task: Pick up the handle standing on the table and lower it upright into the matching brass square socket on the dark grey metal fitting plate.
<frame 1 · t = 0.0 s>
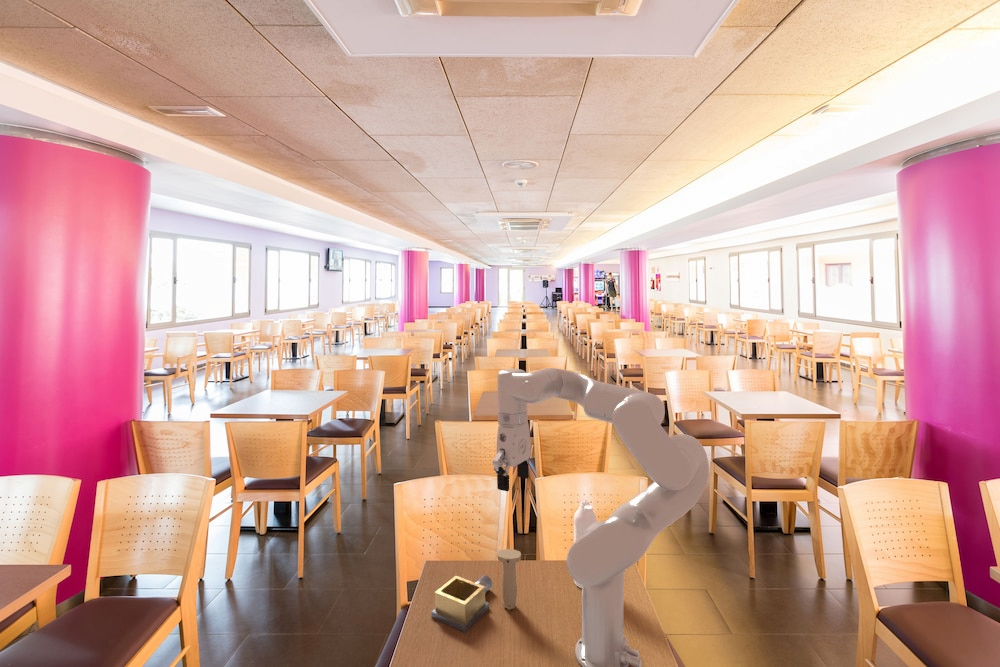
hand: (513, 483, 121), 37 cm above the table, tool pointing down, fingers open, 9 cm apart
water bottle: (586, 586, 139), on the table
socket: (460, 612, 127), on the table
handle: (509, 607, 129), on the table
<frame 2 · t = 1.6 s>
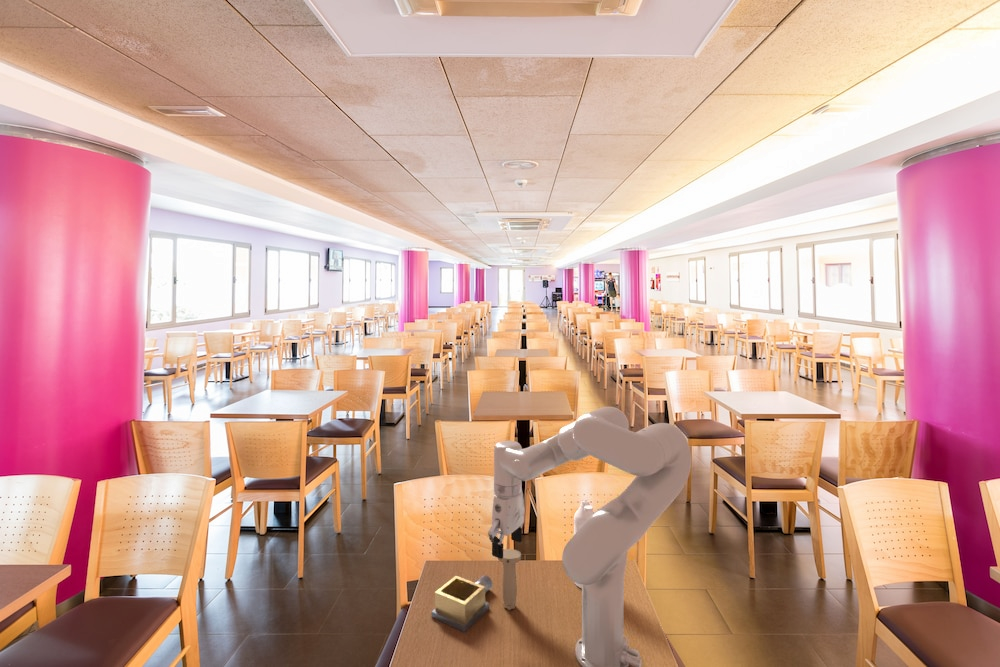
hand: (507, 548, 129), 16 cm above the table, tool pointing down, fingers open, 9 cm apart
nothing on the table moved.
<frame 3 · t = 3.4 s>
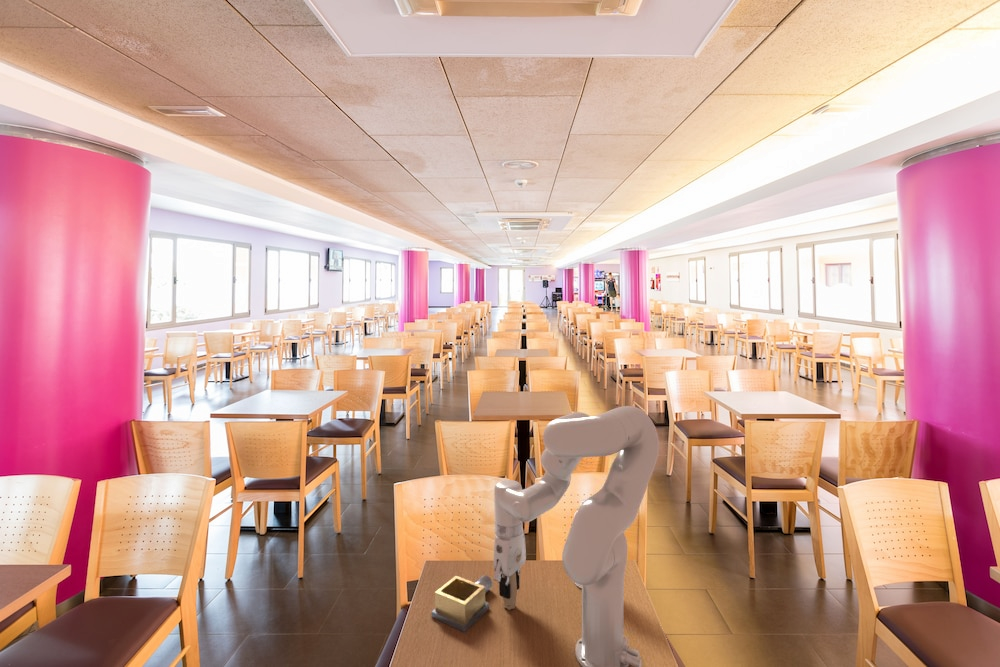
hand: (509, 591, 129), 4 cm above the table, tool pointing down, fingers closed on handle, 4 cm apart
handle: (509, 607, 129), on the table, touching gripper
everything else where it was.
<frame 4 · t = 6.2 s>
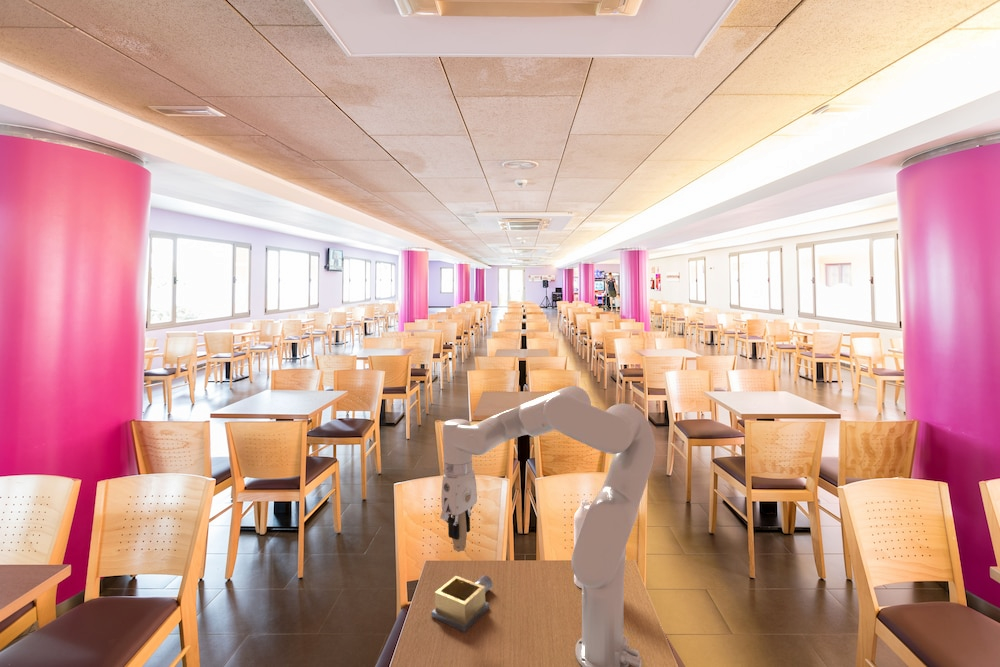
hand: (459, 533, 126), 22 cm above the table, tool pointing down, fingers closed on handle, 4 cm apart
handle: (459, 549, 126), point 17 cm above the table, touching gripper
everything else where it was.
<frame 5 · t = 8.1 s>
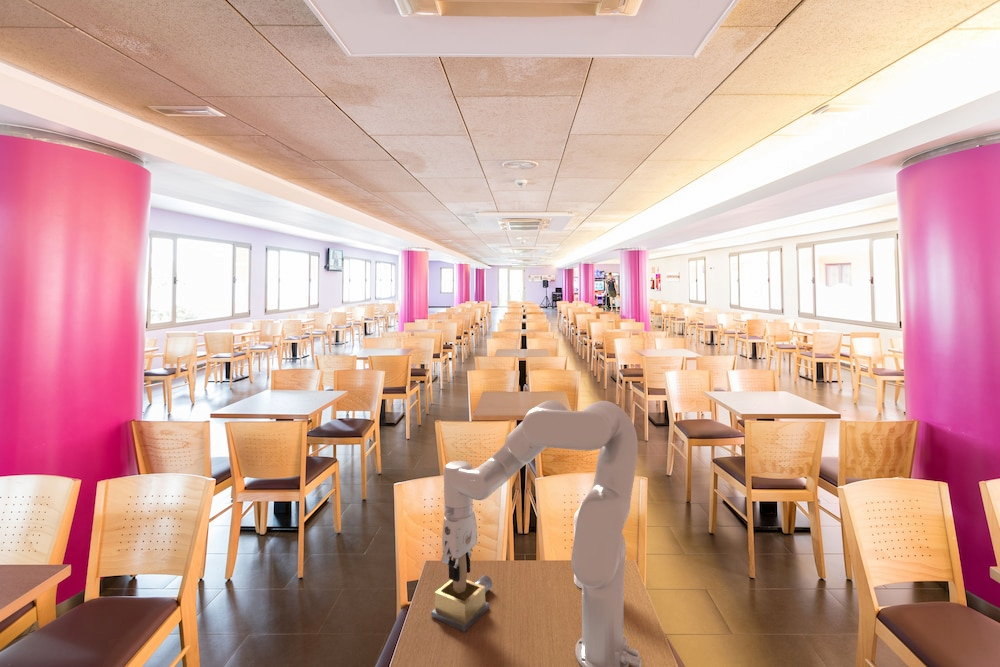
hand: (459, 574, 127), 11 cm above the table, tool pointing down, fingers closed on handle, 4 cm apart
handle: (459, 590, 127), point 6 cm above the table, touching gripper
everything else where it was.
when the fingers open (8 cm above the table, at t = 9.0 s): handle drops 2 cm, resting on socket.
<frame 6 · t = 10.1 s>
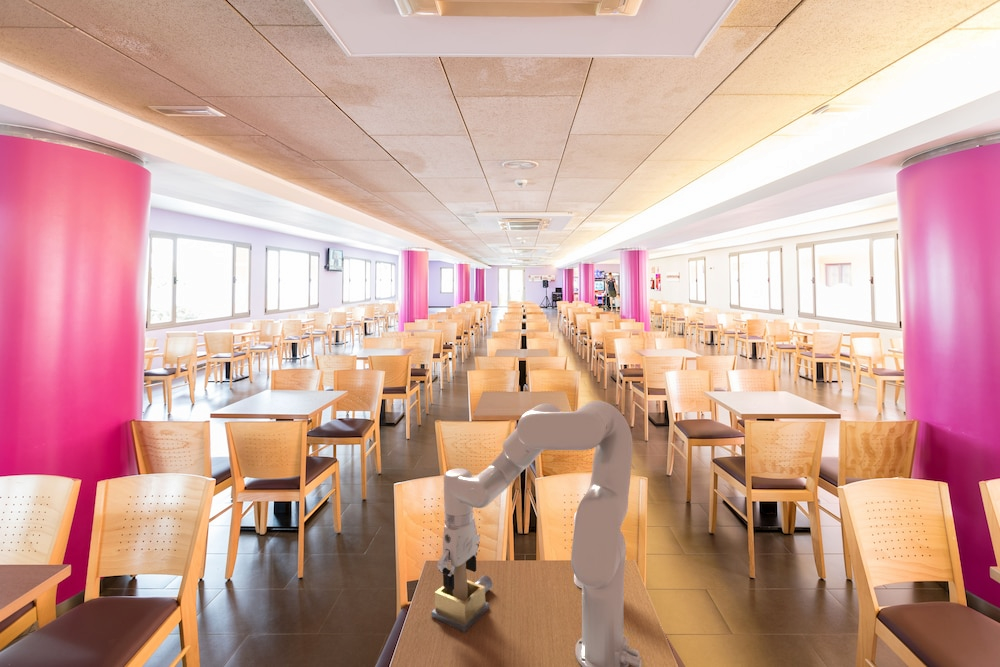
hand: (460, 578, 127), 9 cm above the table, tool pointing down, fingers open, 9 cm apart
handle: (460, 607, 127), point 1 cm above the table, touching socket
everything else where it was.
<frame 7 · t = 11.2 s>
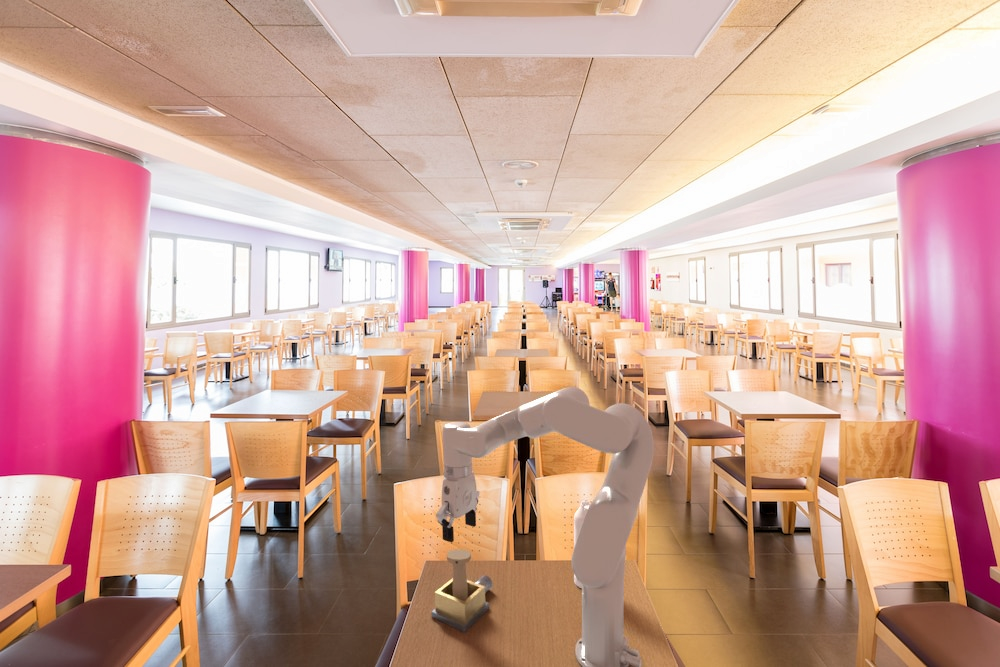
hand: (459, 532, 126), 22 cm above the table, tool pointing down, fingers open, 9 cm apart
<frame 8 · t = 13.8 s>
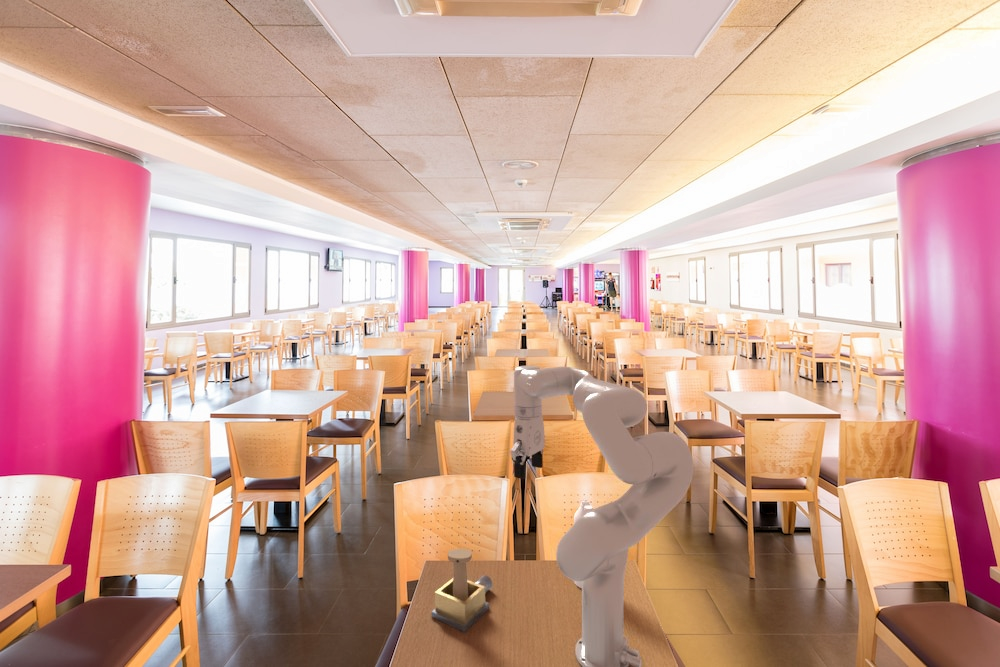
hand: (528, 472, 130), 36 cm above the table, tool pointing down, fingers open, 9 cm apart
nothing on the table moved.
at the end: handle 0.1 cm off-centre on the socket, point 1.3 cm above the socket's base; handle tilted 0°; the gripper is holding nothing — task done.
